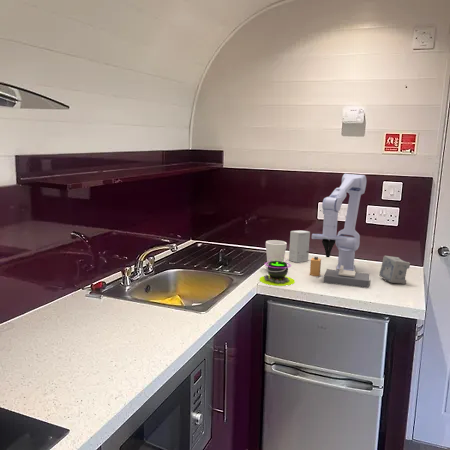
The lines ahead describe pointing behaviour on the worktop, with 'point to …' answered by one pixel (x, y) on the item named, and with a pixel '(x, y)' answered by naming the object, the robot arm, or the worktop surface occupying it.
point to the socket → (346, 278)
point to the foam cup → (275, 250)
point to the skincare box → (299, 246)
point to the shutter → (346, 272)
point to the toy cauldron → (277, 274)
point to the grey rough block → (394, 269)
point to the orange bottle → (315, 266)
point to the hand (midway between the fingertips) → (327, 256)
